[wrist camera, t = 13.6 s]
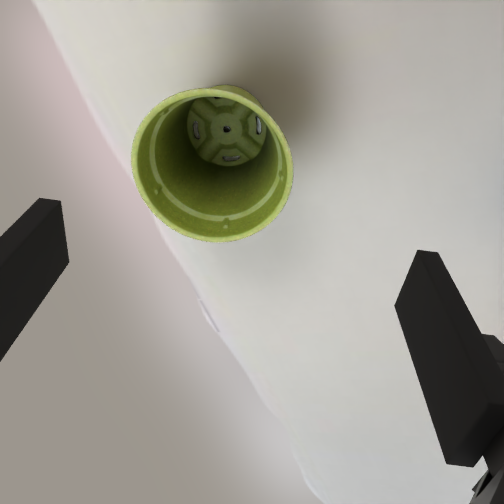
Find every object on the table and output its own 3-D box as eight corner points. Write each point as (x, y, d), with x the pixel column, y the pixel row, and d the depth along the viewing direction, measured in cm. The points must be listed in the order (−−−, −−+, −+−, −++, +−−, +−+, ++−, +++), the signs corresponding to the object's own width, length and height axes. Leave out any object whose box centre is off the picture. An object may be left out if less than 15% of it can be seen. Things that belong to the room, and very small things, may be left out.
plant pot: (178, 190, 35) (154, 248, 28) (148, 68, 30) (109, 101, 23) (293, 178, 34) (298, 236, 27) (283, 50, 29) (285, 78, 22)
